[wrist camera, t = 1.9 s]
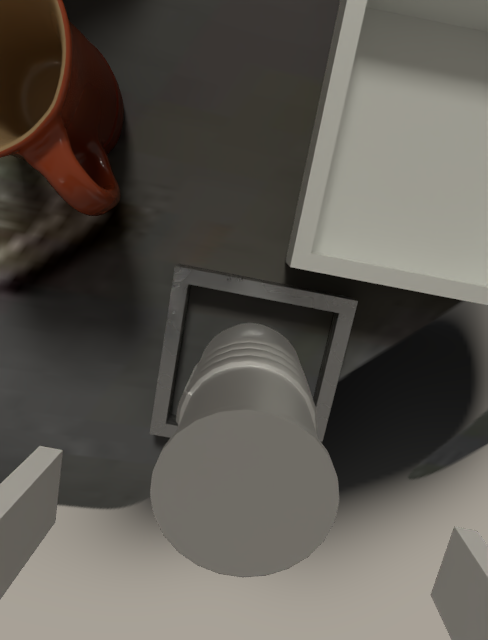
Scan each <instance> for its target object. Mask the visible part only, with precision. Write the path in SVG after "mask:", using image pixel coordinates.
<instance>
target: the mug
mask: <svg viewBox="0 0 488 640" xmlns="http://www.w3.org/2000/svg"><path fill="white" fill-rule="evenodd" d="M123 117H124V108H123V100H122V96H121V92H120V89H119V86H118V83H117V80H116V78H115V76H114V74H113V72H112V70H111V68H110V66H109V64H108V63H107V61H106V59H105V58H104V57H103V55H102V54H101V53H100V52H99V51H98V49H97V48H96V47H95V46H94V45H93V44H91V43H90V42H89V41H88V40H87V39H86V38H85V36H84V35H83V34H82V33H81V32H80V31H79V30H78V29H77V28H76V27H75V26H74V25H73V24H72V23H70V22H69V19H68V15H67V12H66V9H65V6H64V3H63V0H0V158H1V157H5V156H9V155H12V156H15V157H18V158H20V159H23V160H26V161H27V162H28V163H29V164H30V165H31V166H32V167H33V168H34V169H36V170H37V171H38V172H40V173H41V174H42V175H43V176H44V177H45V178H46V179H47V181H48V182H49V183H50V184H51V186H52V187H53V188H54V189H55V190H56V192H57V193H58V194H59V195H60V196H61V197H62V198H63V199H64V200H65V201H66V202H67V203H68V204H69V205H70V206H71V207H72V208H74V209H75V210H77V211H78V212H81V213H83V214H85V215H89V216H99V215H102V214H104V213H106V212H108V211H109V210H111V209H112V208H113V207H115V206H116V205H117V203H118V202H119V200H120V197H121V194H120V188H119V185H118V183H117V181H116V179H115V176H114V174H113V172H112V169H111V165H110V162H109V159H108V156H107V154H108V153H109V152H110V151H111V150H112V149H113V148H114V147H115V145H116V143H117V141H118V139H119V136H120V133H121V129H122V125H123Z"/></svg>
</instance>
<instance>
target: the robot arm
mask: <svg viewBox="0 0 488 640" xmlns="http://www.w3.org/2000/svg"><path fill="white" fill-rule="evenodd" d="M62 452H63V450H59V449H53V448H48V447H43V446H39V447H38V448H37V449H36V450H35V451H34V452H33V453H32V454H31V455H30V456H29V457H28V458H27V459H26V460H25V461H24V462H23V463H22V464H21V465H20V466H19V467H17V468H16V469H15V470H14V471H13V472H12V473H11V474H10V475H9V476H8V477H7V478H6V479H5V480H4V481H3V482H2V483H1V484H0V599H1V598H2V596H3V595H4V593H5V592H6V590H7V589H8V588H9V586H10V585H11V584H12V582H13V581H14V579H15V578H16V576H17V575H18V574H19V572H20V571H21V569H22V568H23V567H24V565H25V564H26V562H27V561H28V560H29V558H30V557H31V555H32V554H33V553H34V551H35V550H36V548H37V547H38V546H39V544H40V543H41V541H42V540H43V539H44V537H45V536H46V534H47V533H48V531H49V530H50V529H51V527H52V526H53V524H54V523H55V520H56V510H57V500H58V491H59V481H60V472H61V462H62ZM431 597H432V599H433V601H434V603H435V605H436V607H437V609H438V612H439V614H440V616H441V618H442V620H443V622H444V625H445V627H446V629H447V631H448V633H449V635H450V637H451V640H488V545H487V544H486V542H485V541H484V540H483V538H482V537H481V536H480V534H479V533H478V531H475V530H470V529H465V528H460V527H454V529H453V532H452V535H451V537H450V540H449V543H448V546H447V549H446V552H445V555H444V558H443V561H442V564H441V566H440V569H439V572H438V575H437V578H436V581H435V584H434V587H433V590H432V593H431Z"/></svg>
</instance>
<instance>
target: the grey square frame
mask: <svg viewBox="0 0 488 640" xmlns="http://www.w3.org/2000/svg"><path fill="white" fill-rule="evenodd" d="M191 285H195V286H201V287H206V288H211V289H216V290H221V291H227V292H232V293H237V294H242V295H247V296H253V297H258V298H263V299H268V300H273V301H279V302H284V303H289V304H294V305H299V306H305V307H310V308H315V309H320V310H325V311H331V312H334V315H333V319H332V323H331V327H330V331H329V335H328V340H327V344H326V348H325V352H324V356H323V360H322V364H321V368H320V372H319V377H318V381H317V385H316V389H315V393H314V397H313V401H314V404H315V406H316V410H317V422H318V428H317V437H318V439H319V441H320V442H321V443H322V441H323V437H324V433H325V429H326V425H327V421H328V417H329V413H330V409H331V406H332V402H333V398H334V394H335V390H336V386H337V382H338V378H339V374H340V370H341V366H342V362H343V359H344V355H345V351H346V347H347V343H348V339H349V335H350V331H351V327H352V323H353V319H354V315H355V311H356V307H357V303H358V301H357V300H356V299H354V298H353V297H348V296H343V295H338V294H332V293H327V292H322V291H317V290H312V289H307V288H301V287H296V286H291V285H286V284H281V283H275V282H270V281H265V280H260V279H255V278H249V277H244V276H239V275H234V274H229V273H224V272H218V271H213V270H208V269H203V268H198V267H192V266H187V265H182V264H178V265H176V266H175V270H174V277H173V283H172V290H171V296H170V303H169V310H168V316H167V323H166V329H165V336H164V343H163V349H162V356H161V362H160V369H159V375H158V382H157V389H156V395H155V402H154V408H153V415H152V422H151V428H150V434H153V435H158V436H164V437H169V438H171V437H172V436H173V435H174V433H175V432H176V431H177V429H178V423H177V422H176V416H177V415H171V414H170V411H171V405H172V399H173V393H174V387H175V380H176V374H177V368H178V362H179V356H180V350H181V343H182V337H183V331H184V325H185V319H186V312H187V306H188V300H189V294H190V288H191Z"/></svg>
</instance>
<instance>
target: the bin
mask: <svg viewBox="0 0 488 640" xmlns="http://www.w3.org/2000/svg"><path fill="white" fill-rule="evenodd" d="M285 262H286V263H287V264H288V265H289V266H290V267H292V268H298V269H303V270H308V271H313V272H318V273H323V274H329V275H334V276H339V277H344V278H349V279H354V280H360V281H365V282H370V283H375V284H380V285H386V286H391V287H396V288H401V289H406V290H411V291H417V292H422V293H427V294H432V295H437V296H442V297H448V298H453V299H458V300H463V301H468V302H474V303H479V304H484V305H488V0H340V4H339V9H338V14H337V18H336V23H335V28H334V33H333V37H332V42H331V47H330V52H329V56H328V61H327V66H326V71H325V75H324V80H323V85H322V90H321V94H320V99H319V104H318V109H317V113H316V118H315V123H314V128H313V132H312V137H311V142H310V147H309V152H308V156H307V161H306V166H305V171H304V175H303V180H302V185H301V190H300V194H299V199H298V204H297V209H296V213H295V218H294V223H293V228H292V232H291V237H290V242H289V247H288V251H287V256H286V261H285Z"/></svg>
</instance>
